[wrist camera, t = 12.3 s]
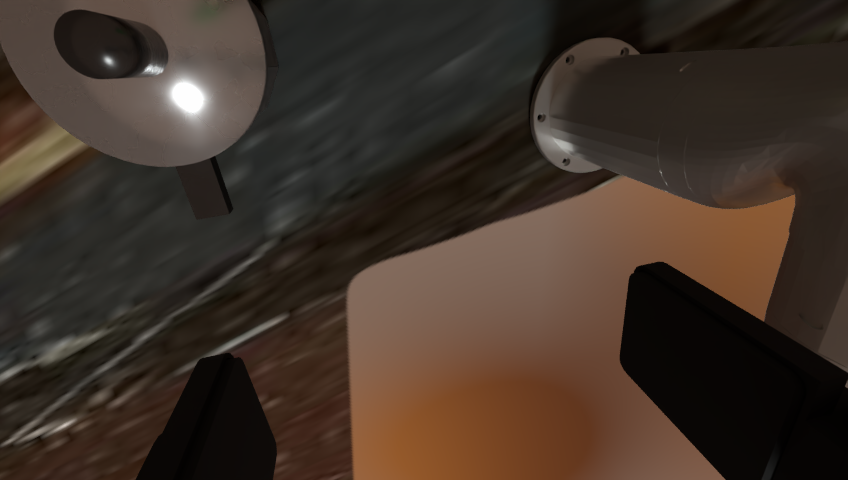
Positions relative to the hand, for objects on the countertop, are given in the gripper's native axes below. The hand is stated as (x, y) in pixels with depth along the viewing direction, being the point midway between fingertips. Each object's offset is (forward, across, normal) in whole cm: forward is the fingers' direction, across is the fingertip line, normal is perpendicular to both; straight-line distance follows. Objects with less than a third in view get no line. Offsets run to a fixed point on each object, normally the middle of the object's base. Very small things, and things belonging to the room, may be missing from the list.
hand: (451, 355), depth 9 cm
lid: (+22, +13, -9) cm, 27 cm away
